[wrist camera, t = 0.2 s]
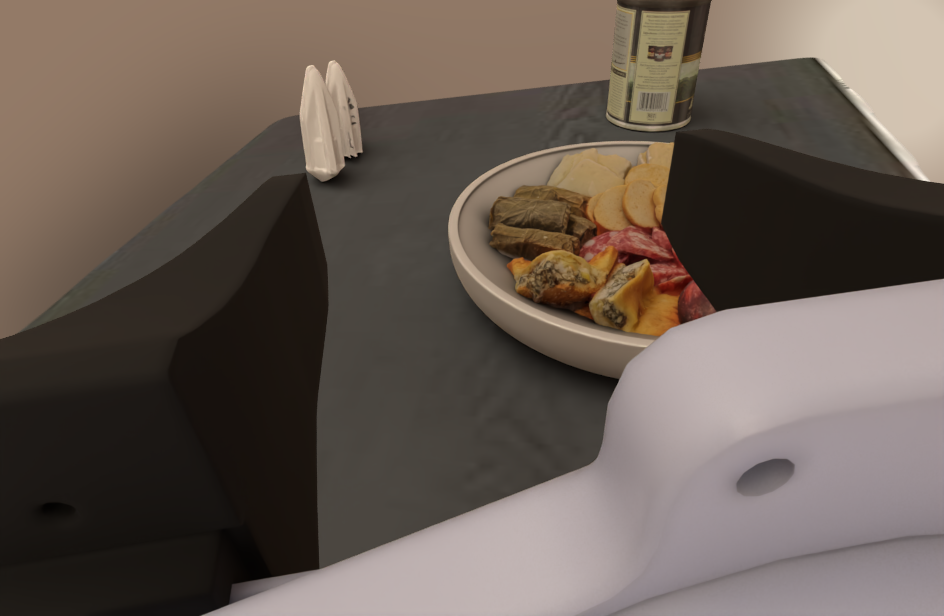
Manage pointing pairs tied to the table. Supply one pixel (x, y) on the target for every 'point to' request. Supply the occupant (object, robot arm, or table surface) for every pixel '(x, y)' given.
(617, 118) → the coffee can
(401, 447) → the table surface
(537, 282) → the bowl
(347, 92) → the shaker set
